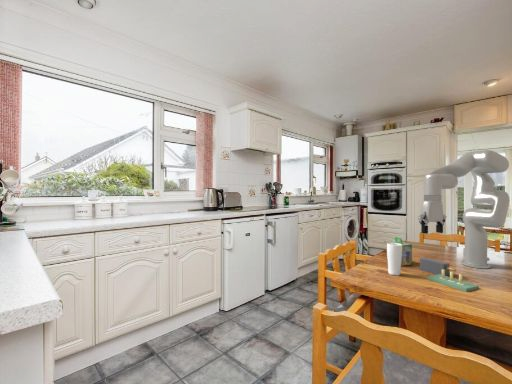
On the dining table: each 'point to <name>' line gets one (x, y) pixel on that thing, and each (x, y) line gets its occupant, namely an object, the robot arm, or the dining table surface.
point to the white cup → (394, 258)
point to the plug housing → (434, 266)
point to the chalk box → (405, 252)
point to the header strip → (453, 281)
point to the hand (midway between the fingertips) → (432, 233)
